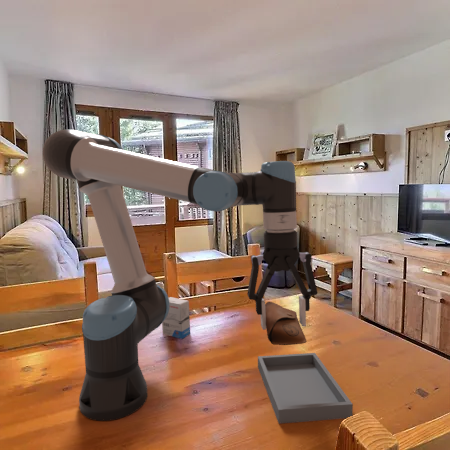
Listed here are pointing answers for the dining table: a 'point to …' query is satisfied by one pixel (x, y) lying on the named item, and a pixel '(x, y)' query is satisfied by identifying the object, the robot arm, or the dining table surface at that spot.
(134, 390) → the robot arm
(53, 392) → the dining table surface
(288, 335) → the sunglasses case
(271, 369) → the holder
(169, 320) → the ink box
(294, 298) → the dining table surface
